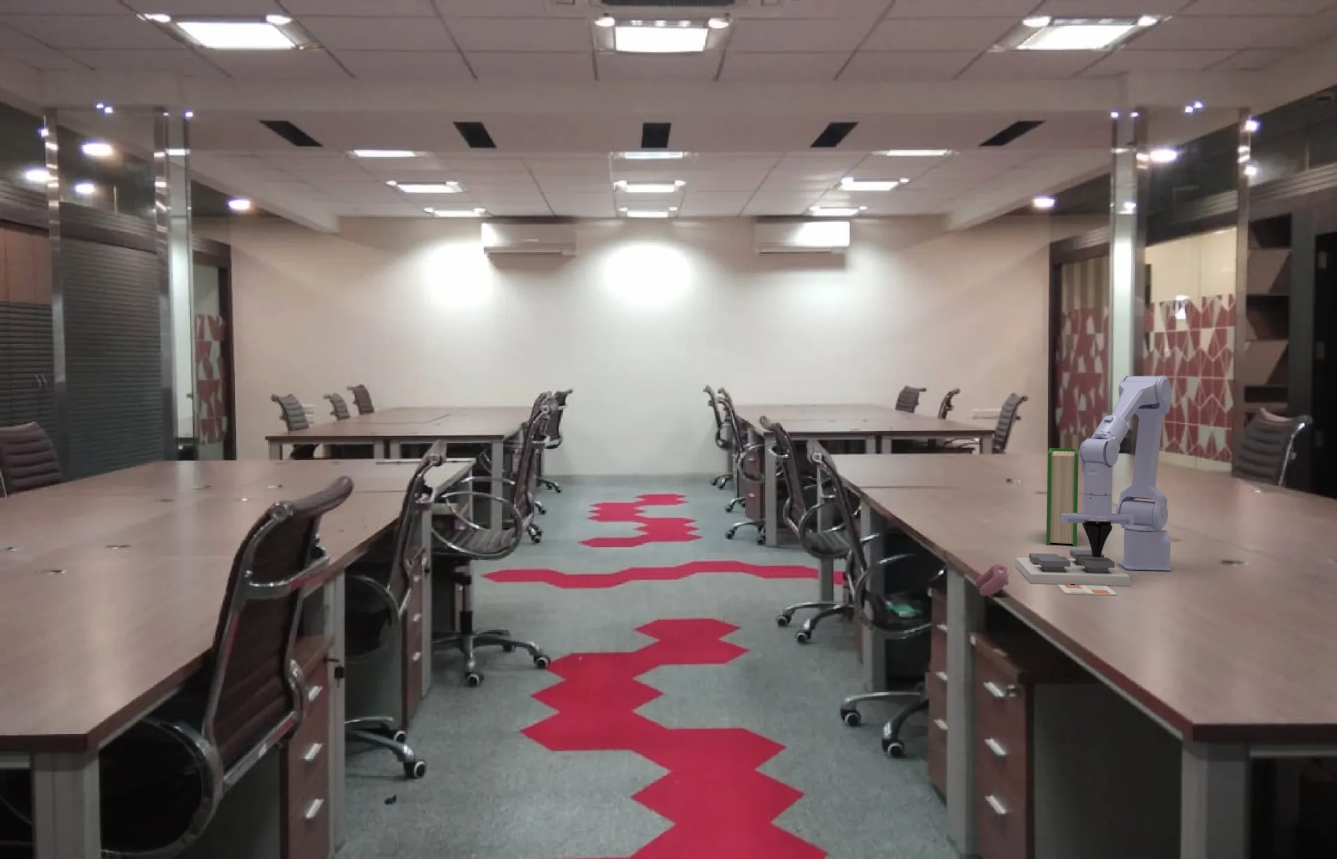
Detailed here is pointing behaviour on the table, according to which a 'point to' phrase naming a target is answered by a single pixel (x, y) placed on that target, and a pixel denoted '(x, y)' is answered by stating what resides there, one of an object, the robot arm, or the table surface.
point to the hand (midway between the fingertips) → (1096, 556)
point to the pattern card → (1086, 589)
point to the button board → (1071, 575)
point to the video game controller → (992, 580)
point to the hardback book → (1062, 495)
